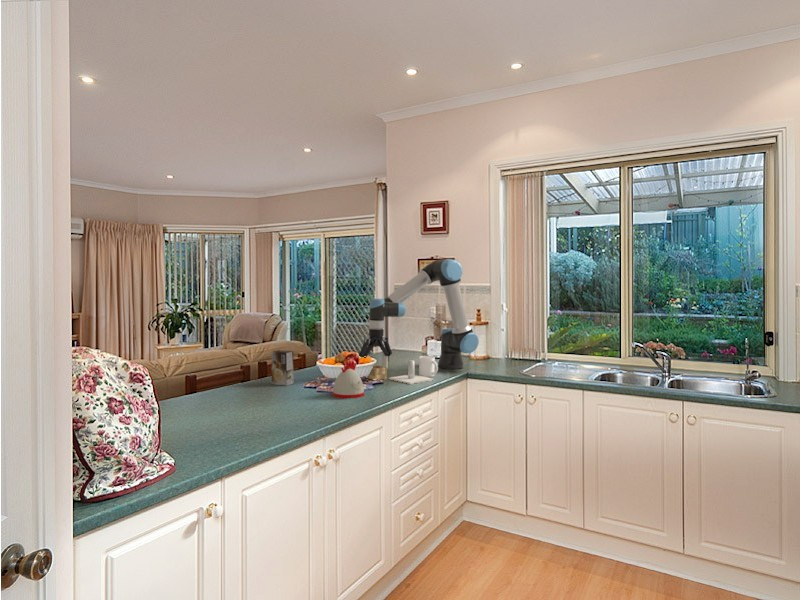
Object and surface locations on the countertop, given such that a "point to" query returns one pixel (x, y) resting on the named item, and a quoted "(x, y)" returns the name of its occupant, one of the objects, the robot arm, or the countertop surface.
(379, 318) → the robot arm
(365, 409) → the countertop surface
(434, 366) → the mug
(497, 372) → the countertop surface
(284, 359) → the coffee box
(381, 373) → the collar
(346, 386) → the kitchen timer
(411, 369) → the post stand
